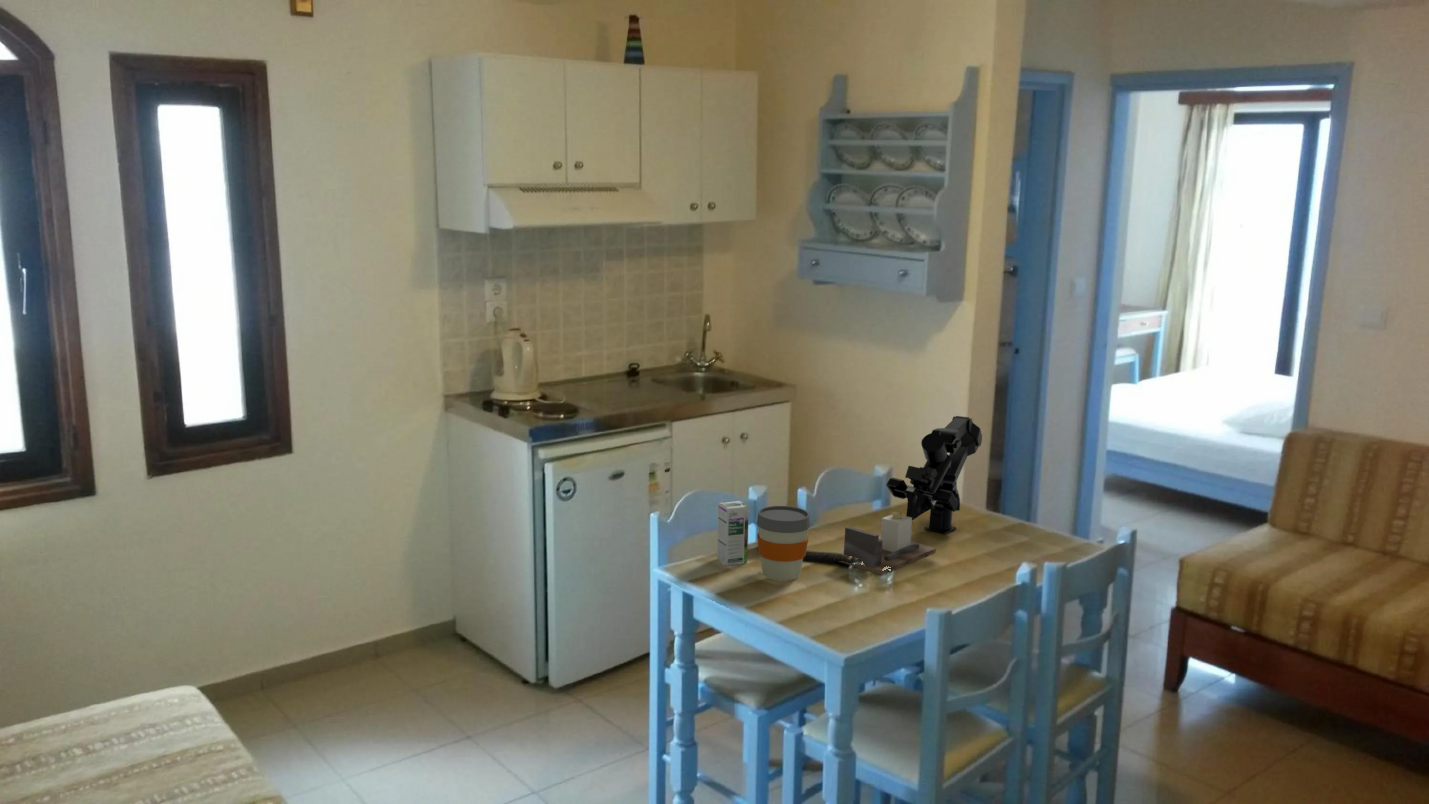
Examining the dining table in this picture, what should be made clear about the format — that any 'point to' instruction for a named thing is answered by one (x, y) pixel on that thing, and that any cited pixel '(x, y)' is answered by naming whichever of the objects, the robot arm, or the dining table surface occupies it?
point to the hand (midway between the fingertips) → (907, 521)
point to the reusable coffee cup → (782, 541)
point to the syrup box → (732, 532)
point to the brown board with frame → (880, 551)
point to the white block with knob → (896, 532)
